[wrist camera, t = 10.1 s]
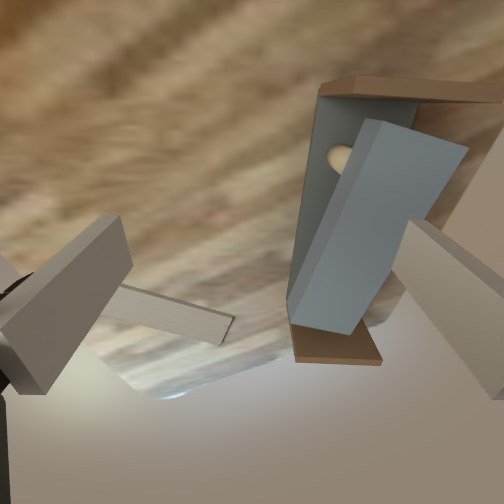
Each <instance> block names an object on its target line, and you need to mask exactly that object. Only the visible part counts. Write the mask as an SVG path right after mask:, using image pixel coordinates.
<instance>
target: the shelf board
mask: <svg viewBox="0 0 504 504" xmlns="http://www.w3.org/2000/svg"><path fill="white" fill-rule="evenodd" d="M468 150H469V148H468V147H465V146H461V145H458V144H455V143H452V142H449V141H446V140H442V139H439V138H436V137H433V136H430V135H427V134H424V133H420V132H417V131H414V130H411V129H408V128H405V127H401V126H398V125H395V124H392V123H389V122H386V121H381V120H374V119H368V118H365V120H364V123H363V125H362V127H361V130H360V132H359V134H358V137H357V139H356V141H355V144H354V146H353V148H352V151H351V153H350V155H349V158H348V160H347V162H346V165H345V167H344V169H343V172H342V174H341V176H340V179H339V181H338V183H337V186H336V188H335V190H334V193H333V195H332V197H331V200H330V202H329V204H328V207H327V209H326V211H325V214H324V216H323V218H322V221H321V223H320V225H319V228H318V230H317V232H316V235H315V237H314V239H313V242H312V244H311V246H310V249H309V251H308V253H307V256H306V258H305V260H304V263H303V265H302V267H301V270H300V272H299V274H298V277H297V279H296V281H295V284H294V286H293V288H292V291H291V293H290V295H289V298H288V300H287V307H288V313H289V319H290V323H291V324H296V325H301V326H306V327H311V328H316V329H321V330H326V331H331V332H335V333H340V334H345V335H351V333H352V332H353V330H354V329H355V327H356V325H357V324H358V322H359V321H360V319H361V318H362V316H363V314H364V313H365V311H366V310H367V308H368V307H369V305H370V303H371V302H372V300H373V299H374V297H375V296H376V294H377V292H378V291H379V289H380V288H381V286H382V285H383V283H384V281H385V280H386V278H387V277H388V275H389V274H390V272H391V270H392V269H391V268H392V266H393V263H394V260H395V257H396V255H397V252H398V249H399V246H400V243H401V241H402V238H403V235H404V232H405V230H406V227H407V224H408V221H409V220H424V219H425V217H426V215H427V214H428V212H429V211H430V209H431V208H432V206H433V204H434V203H435V201H436V200H437V198H438V197H439V195H440V193H441V192H442V190H443V189H444V187H445V186H446V184H447V182H448V181H449V179H450V178H451V176H452V175H453V173H454V171H455V170H456V168H457V167H458V165H459V164H460V162H461V161H462V159H463V157H464V156H465V154H466V153H467V151H468Z"/></svg>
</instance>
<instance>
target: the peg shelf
mask: <svg viewBox="0 0 504 504" xmlns="http://www.w3.org/2000/svg"><path fill="white" fill-rule="evenodd" d="M503 99H504V85H495V84H480V83H466V82H452V81H437V80H423V79H408V78H394V77H380V76H365V75H354V76H350V77H347V78H343V79H339V80H335V81H331V82H327V83H323V84H321V89H319V91H318V97H317V104H316V110H315V116H314V123H313V129H312V136H311V142H310V148H309V155H308V161H307V168H306V174H305V180H304V187H303V193H302V200H301V206H300V212H299V219H298V225H297V232H296V238H295V244H294V251H293V257H292V264H291V270H290V276H289V283H288V289H287V295H286V302H287V300H288V298H289V295H290V293H291V291H292V288H293V286H294V284H295V281H296V279H297V277H298V274H299V272H300V270H301V267H302V265H303V263H304V260H305V258H306V256H307V253H308V251H309V249H310V246H311V244H312V242H313V239H314V237H315V235H316V232H317V230H318V228H319V225H320V223H321V221H322V218H323V216H324V214H325V211H326V209H327V207H328V204H329V202H330V200H331V197H332V195H333V193H334V190H335V188H336V186H337V183H338V181H339V179H340V176H341V174H342V172H343V169H344V167H345V165H346V162H347V160H348V158H349V155H350V153H351V151H352V148H353V146H354V144H355V141H356V139H357V137H358V134H359V132H360V130H361V127H362V125H363V123H364V120H365V118H368V119H374V120H381V121H386V122H389V123H392V124H395V125H398V126H401V127H405V128H408V129H411V126H412V123H413V120H414V117H415V114H416V111H417V108H418V105H419V103H502V101H503ZM286 306H287V303H286ZM287 312H288V307H287ZM288 319H289V313H288ZM289 325H290V331H291V337H292V343H293V350H294V356H295V362H298V363H299V362H300V363H322V364H347V365H372V366H381V364H382V361H383V359H382V357H381V355H380V353H379V351H378V349H377V347H376V345H375V343H374V341H373V340H372V337H371V335H370V333H369V331H368V329H367V327H366V325H365V323H364V321H363V319H362V318H361V319H360V321H359V322H358V324H357V325H356V327H355V329H354V330H353V332H352V333H351V335H345V334H340V333H335V332H331V331H326V330H321V329H316V328H311V327H306V326H301V325H296V324H291V323H290V319H289Z"/></svg>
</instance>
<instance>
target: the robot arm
mask: <svg viewBox="0 0 504 504" xmlns="http://www.w3.org/2000/svg"><path fill="white" fill-rule="evenodd" d="M132 267H133V262H132V259H131V255H130V251H129V248H128V244H127V240H126V237H125V233H124V229H123V225H122V222H121V218H120V215H102V216H101V217H100V218H99V219H97V220H96V221H95V222H94V223H93V224H91V225H90V226H89V227H88V228H87V229H85V230H84V231H83V232H82V233H81V234H80V235H78V236H77V237H76V238H75V239H74V240H72V241H71V242H70V243H69V244H68V245H66V246H65V247H64V248H63V249H62V250H60V251H59V252H58V253H57V254H56V255H55V256H53V257H52V258H51V259H50V260H49V261H47V262H46V263H45V264H44V265H43V266H41V267H40V268H39V269H38V270H37V271H35V272H33V273H31V274H29V275H27V276H25V277H23V278H21V279H19V280H18V281H16V282H15V283H13V284H12V285H11V286H10V287H8V288H7V289H6V290H5V291H4V293H3V294H0V504H11V501H10V483H9V481H10V480H9V462H8V443H7V442H8V441H7V422H6V403H5V400H4V398H3V396H2V395H1V393H2V391H3V390H4V389H5V388H6V387H7V385H8V384H9V383H10V384H11V385H12V386H13V387H14V388H15V390H16V391H17V392H18V394H19V395H46V394H47V392H48V391H49V389H50V388H51V386H52V384H53V383H54V382H55V380H56V379H57V377H58V376H59V374H60V373H61V372H62V370H63V369H64V367H65V366H66V364H67V363H68V361H69V360H70V358H71V357H72V355H73V353H74V352H75V351H76V349H77V348H78V346H79V345H80V343H81V342H82V341H83V339H84V338H85V336H86V335H87V333H88V332H89V330H90V329H91V327H92V326H93V324H94V323H95V321H96V320H97V318H98V317H99V315H100V314H101V312H102V311H103V310H104V308H105V307H106V305H107V304H108V302H109V301H110V299H111V298H112V296H113V295H114V293H115V292H116V290H117V289H118V287H119V286H120V284H121V283H122V281H123V280H124V278H125V277H126V276H127V274H128V273H129V271H130V270H131V268H132ZM391 269H392V271H393V272H394V273H395V275H396V276H397V277H398V279H399V280H400V281H401V282H402V284H403V285H404V286H405V288H406V289H407V290H408V292H409V293H410V294H411V295H412V297H413V298H414V299H415V301H416V302H417V303H418V305H419V306H420V307H421V308H422V310H423V311H424V312H425V313H426V315H427V316H428V317H429V319H430V320H431V321H432V323H433V324H434V325H435V327H436V328H437V329H438V331H439V332H440V333H441V334H442V336H443V337H444V338H445V340H446V341H447V342H448V343H449V345H450V346H451V347H452V349H453V350H454V351H455V353H456V354H457V355H458V357H459V358H460V359H461V361H462V362H463V363H464V364H465V366H466V367H467V368H468V370H469V371H470V372H471V373H472V375H473V376H474V377H475V379H476V380H477V381H478V383H479V384H480V385H481V386H482V388H483V389H484V390H485V392H486V393H487V394H488V396H489V397H490V398H491V400H504V279H503V278H502V277H501V276H499V275H498V274H497V273H495V272H494V271H493V270H491V269H490V268H489V267H487V266H486V265H485V264H483V263H482V262H481V261H479V260H478V259H477V258H475V257H474V256H473V255H472V254H470V253H469V252H468V251H466V250H465V249H464V248H462V247H461V246H460V245H458V244H457V243H456V242H454V241H453V240H452V239H450V238H449V237H448V236H446V235H445V234H444V233H442V232H441V231H440V230H439V229H437V228H436V227H435V226H433V225H432V224H431V223H429V222H428V221H427V220H409V221H408V224H407V227H406V230H405V232H404V235H403V238H402V241H401V243H400V246H399V249H398V252H397V255H396V257H395V260H394V263H393V266H392V268H391Z"/></svg>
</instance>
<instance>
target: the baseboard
mask: <svg viewBox="0 0 504 504" xmlns="http://www.w3.org/2000/svg"><path fill="white" fill-rule="evenodd" d="M100 315H104V316H108V317H112V318H116V319H120V320H123V321H127V322H131V323H135V324H139V325H143V326H146V327H150V328H154V329H158V330H162V331H166V332H169V333H173V334H177V335H181V336H185V337H189V338H192V339H196V340H200V341H204V342H208V343H212V344H215V345H220V344H221V342H222V340H223V338H224V336H225V333H226V332H227V329H228V327H229V325H230V323H231V321H232V319H233V315H230V314H227V313H223V312H220V311H216V310H213V309H209V308H206V307H202V306H199V305H195V304H192V303H188V302H185V301H181V300H178V299H174V298H171V297H167V296H164V295H160V294H157V293H153V292H150V291H146V290H143V289H139V288H136V287H132V286H129V285H125V284H122V283H121V284H120V286H119V287H118V289H117V290H116V292H115V293H114V295H113V296H112V298H111V299H110V301H109V302H108V304H107V305H106V307H105V308H104V310H103V311H102V312H101V314H100Z"/></svg>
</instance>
